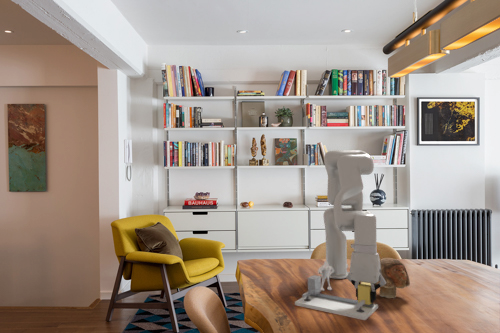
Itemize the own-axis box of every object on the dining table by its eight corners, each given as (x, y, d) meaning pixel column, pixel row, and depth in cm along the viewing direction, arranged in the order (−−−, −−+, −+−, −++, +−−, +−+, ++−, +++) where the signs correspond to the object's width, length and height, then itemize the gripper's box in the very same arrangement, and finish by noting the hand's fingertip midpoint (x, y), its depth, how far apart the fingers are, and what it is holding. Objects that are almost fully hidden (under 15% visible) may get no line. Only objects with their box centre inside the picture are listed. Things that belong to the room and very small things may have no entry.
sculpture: (391, 306, 139) (390, 264, 139) (359, 294, 153) (359, 256, 153) (419, 299, 146) (419, 260, 146) (387, 288, 160) (387, 252, 160)
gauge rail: (311, 293, 152) (311, 274, 152) (375, 305, 137) (375, 284, 137) (297, 301, 142) (297, 281, 142) (364, 315, 128) (364, 293, 128)
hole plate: (311, 294, 153) (311, 291, 153) (378, 307, 138) (378, 304, 138) (295, 305, 142) (294, 301, 142) (365, 320, 127) (365, 316, 127)
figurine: (331, 287, 163) (330, 258, 163) (336, 290, 159) (336, 261, 159) (315, 289, 160) (315, 260, 160) (320, 292, 156) (320, 262, 156)
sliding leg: (362, 302, 140) (362, 282, 140) (373, 304, 138) (373, 283, 138) (351, 311, 131) (351, 290, 131) (363, 314, 128) (362, 292, 128)
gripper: (338, 247, 139) (339, 299, 139) (386, 253, 129) (387, 308, 129) (346, 244, 145) (347, 293, 145) (392, 249, 135) (393, 302, 135)
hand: (366, 300), depth 137 cm, fingers closed on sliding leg, 4 cm apart
